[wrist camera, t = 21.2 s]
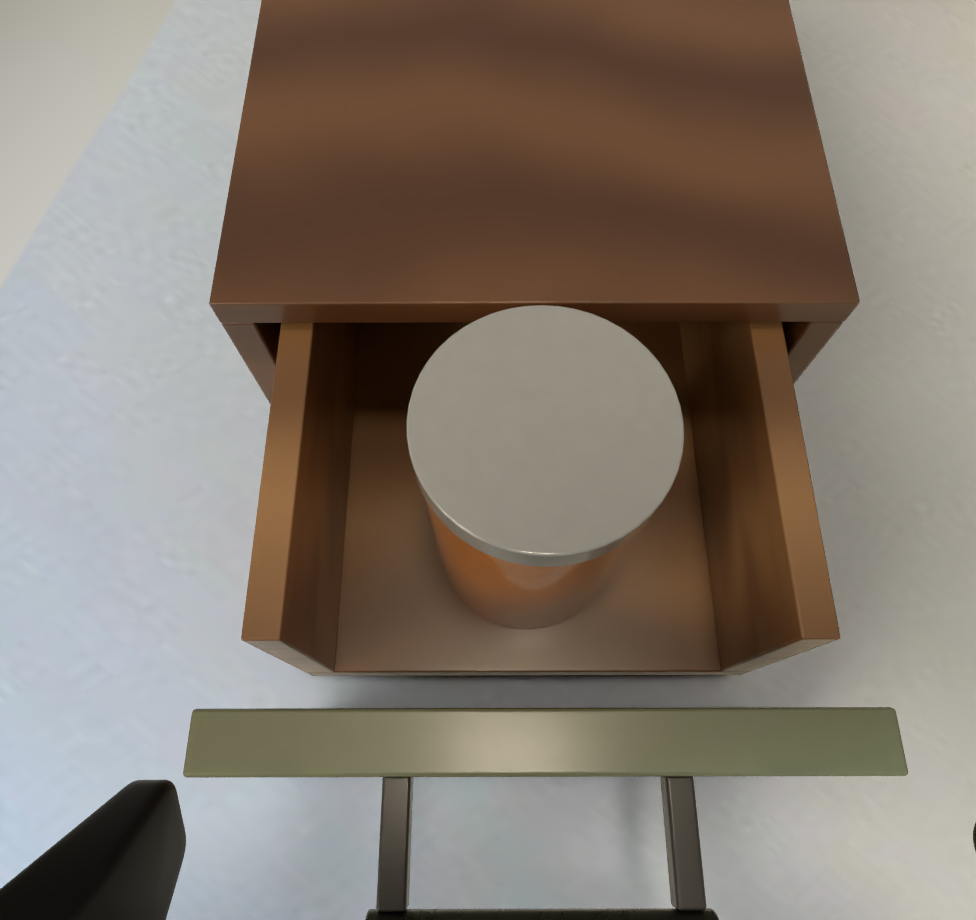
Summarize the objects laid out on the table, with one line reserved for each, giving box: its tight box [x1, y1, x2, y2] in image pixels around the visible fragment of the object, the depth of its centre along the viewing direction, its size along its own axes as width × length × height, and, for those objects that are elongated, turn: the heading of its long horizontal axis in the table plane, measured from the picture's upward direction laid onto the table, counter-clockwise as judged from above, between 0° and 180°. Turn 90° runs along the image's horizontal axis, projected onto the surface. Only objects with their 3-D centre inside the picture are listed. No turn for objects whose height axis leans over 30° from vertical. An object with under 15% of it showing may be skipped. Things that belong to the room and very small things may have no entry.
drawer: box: [183, 322, 908, 920], centre depth 19 cm, size 18×13×7 cm
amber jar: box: [406, 305, 684, 629], centre depth 17 cm, size 5×5×8 cm
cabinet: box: [209, 0, 859, 404], centre depth 23 cm, size 16×15×9 cm
